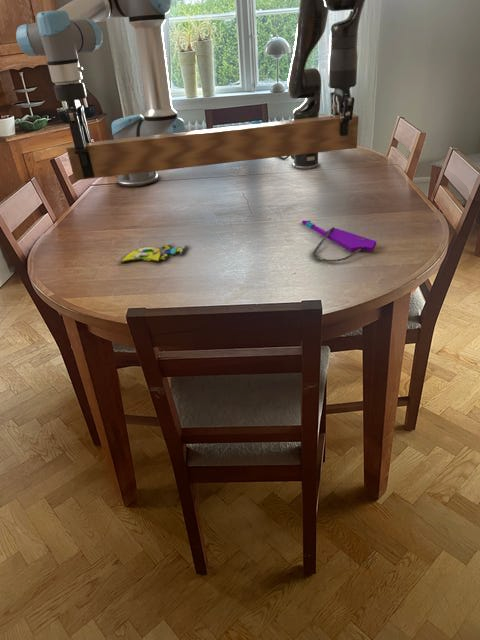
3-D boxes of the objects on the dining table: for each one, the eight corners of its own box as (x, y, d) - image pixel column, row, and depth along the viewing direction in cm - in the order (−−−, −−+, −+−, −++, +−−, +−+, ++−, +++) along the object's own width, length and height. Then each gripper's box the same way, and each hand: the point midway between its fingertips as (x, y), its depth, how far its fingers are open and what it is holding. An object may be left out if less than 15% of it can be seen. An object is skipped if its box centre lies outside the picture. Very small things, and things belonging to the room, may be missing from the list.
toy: (177, 259, 120) (120, 260, 122) (177, 262, 121) (121, 263, 123) (186, 242, 129) (132, 243, 131) (186, 245, 129) (133, 246, 131)
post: (74, 180, 132) (66, 148, 128) (77, 175, 137) (69, 144, 132) (356, 148, 138) (358, 116, 134) (351, 144, 143) (352, 113, 138)
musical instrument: (359, 272, 111) (387, 230, 123) (358, 264, 110) (387, 222, 122) (269, 260, 124) (303, 223, 136) (267, 253, 122) (302, 216, 134)
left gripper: (78, 85, 115) (100, 181, 127) (87, 77, 130) (106, 164, 142) (46, 88, 114) (72, 185, 127) (59, 80, 129) (81, 167, 142)
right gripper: (365, 68, 123) (362, 137, 132) (347, 64, 135) (345, 127, 144) (337, 71, 123) (335, 140, 132) (321, 66, 135) (320, 130, 144)
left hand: (90, 174), depth 135 cm, fingers closed on post, 5 cm apart
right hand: (340, 133), depth 138 cm, fingers closed on post, 5 cm apart
